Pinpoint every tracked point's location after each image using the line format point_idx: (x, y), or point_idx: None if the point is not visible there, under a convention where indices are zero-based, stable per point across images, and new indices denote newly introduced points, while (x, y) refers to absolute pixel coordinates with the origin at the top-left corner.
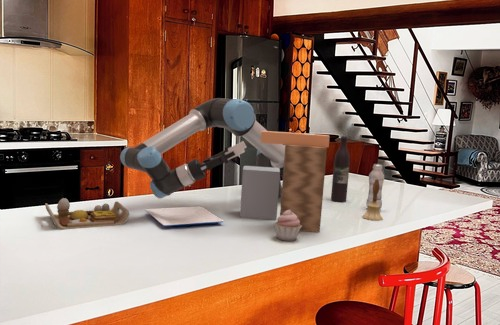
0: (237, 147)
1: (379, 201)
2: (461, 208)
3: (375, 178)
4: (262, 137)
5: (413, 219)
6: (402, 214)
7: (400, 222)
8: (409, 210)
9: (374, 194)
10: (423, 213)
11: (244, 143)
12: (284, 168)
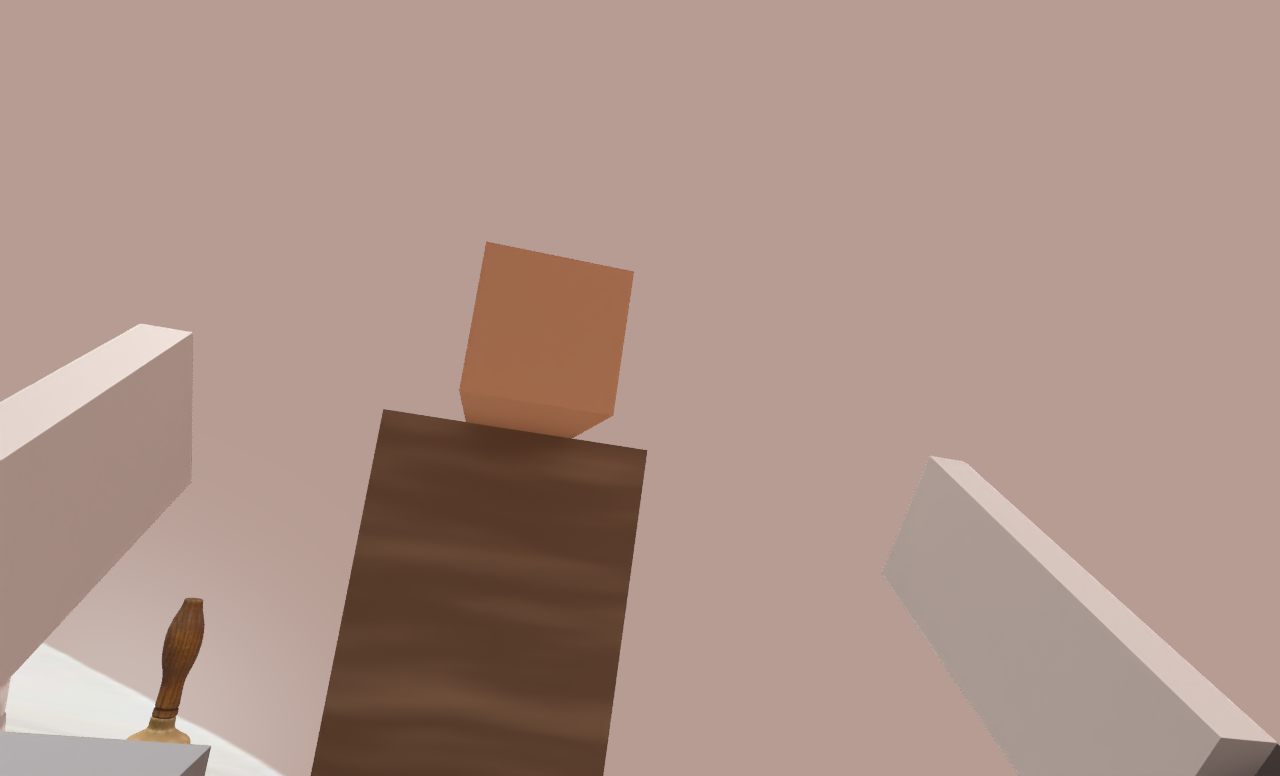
0: (1008, 513)
1: (5, 717)
2: None
3: None
4: (621, 348)
5: (191, 735)
6: (90, 737)
7: (241, 767)
8: (17, 712)
9: (181, 679)
10: (90, 701)
11: (191, 389)
12: (545, 670)
